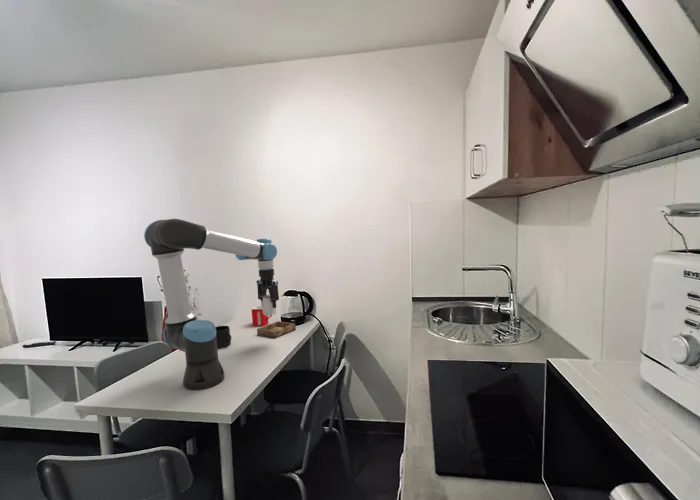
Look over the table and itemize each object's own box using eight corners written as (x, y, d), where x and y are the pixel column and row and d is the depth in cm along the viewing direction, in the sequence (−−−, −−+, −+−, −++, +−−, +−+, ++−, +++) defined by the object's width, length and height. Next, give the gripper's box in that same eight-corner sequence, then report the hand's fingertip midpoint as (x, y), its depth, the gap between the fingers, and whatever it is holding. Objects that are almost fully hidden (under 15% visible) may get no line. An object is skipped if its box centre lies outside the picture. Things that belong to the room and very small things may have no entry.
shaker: (269, 316, 176) (267, 296, 175) (261, 314, 179) (259, 296, 179) (277, 313, 181) (276, 294, 180) (269, 312, 184) (268, 293, 183)
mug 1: (224, 350, 174) (223, 332, 173) (207, 347, 179) (205, 330, 178) (238, 343, 182) (237, 326, 181) (221, 341, 187) (220, 325, 187)
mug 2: (251, 326, 213) (250, 309, 212) (257, 322, 221) (256, 306, 220) (269, 326, 210) (268, 309, 210) (275, 322, 218) (274, 305, 218)
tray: (275, 338, 187) (274, 332, 187) (257, 334, 195) (256, 328, 195) (295, 329, 200) (295, 323, 200) (278, 326, 208) (278, 321, 208)
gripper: (284, 268, 176) (287, 313, 178) (259, 267, 187) (262, 310, 188) (273, 270, 170) (276, 317, 172) (248, 269, 181) (251, 313, 182)
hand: (269, 313), depth 180 cm, fingers closed on shaker, 6 cm apart
